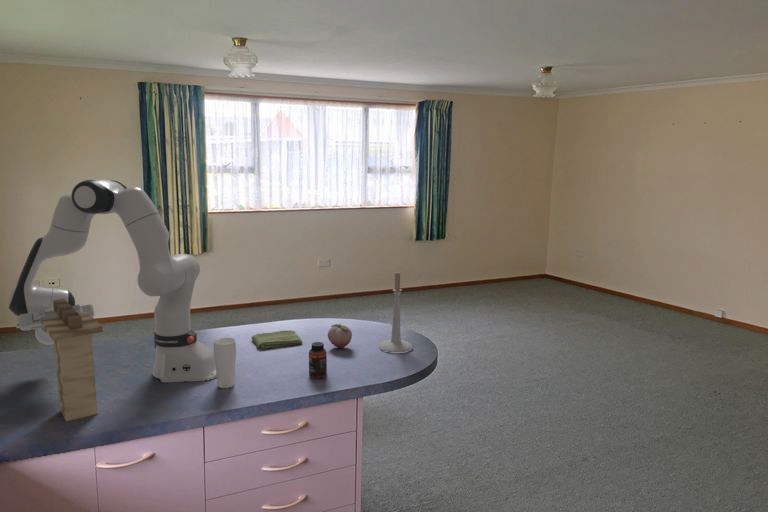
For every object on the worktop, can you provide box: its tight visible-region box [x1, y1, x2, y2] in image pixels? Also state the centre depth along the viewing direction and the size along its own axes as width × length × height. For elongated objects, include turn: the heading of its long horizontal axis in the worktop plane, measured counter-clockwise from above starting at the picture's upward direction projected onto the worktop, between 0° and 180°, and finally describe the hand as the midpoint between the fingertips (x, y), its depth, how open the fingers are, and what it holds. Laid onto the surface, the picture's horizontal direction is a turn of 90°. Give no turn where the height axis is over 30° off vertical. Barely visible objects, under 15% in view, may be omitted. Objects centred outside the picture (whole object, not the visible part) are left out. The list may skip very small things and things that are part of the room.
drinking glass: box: [213, 337, 237, 389], centre depth 185 cm, size 7×7×15 cm
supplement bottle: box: [308, 341, 328, 380], centre depth 195 cm, size 6×6×11 cm
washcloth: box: [251, 330, 303, 350], centre depth 227 cm, size 13×18×3 cm
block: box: [53, 299, 82, 330], centre depth 165 cm, size 22×3×3 cm, turn 39°
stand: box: [41, 313, 104, 423], centre depth 164 cm, size 16×12×26 cm
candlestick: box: [378, 271, 413, 352], centre depth 221 cm, size 13×13×30 cm
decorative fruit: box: [327, 323, 353, 349], centre depth 221 cm, size 9×8×10 cm
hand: (59, 309), depth 173 cm, fingers open, 8 cm apart
